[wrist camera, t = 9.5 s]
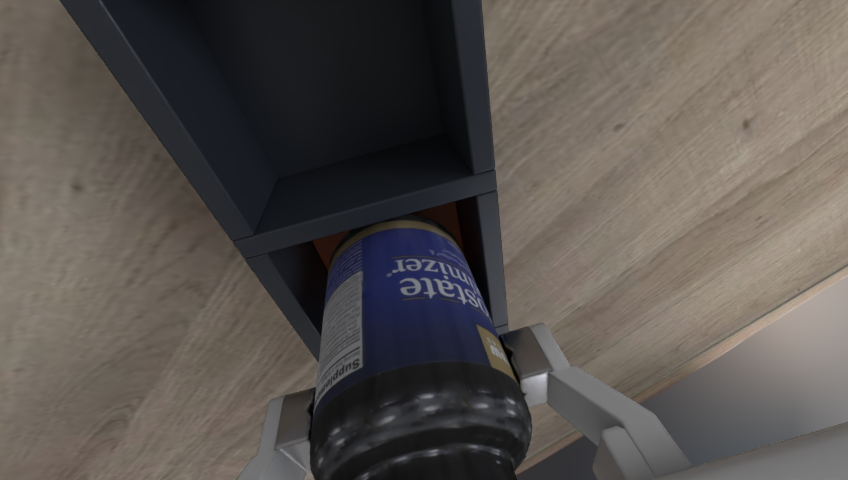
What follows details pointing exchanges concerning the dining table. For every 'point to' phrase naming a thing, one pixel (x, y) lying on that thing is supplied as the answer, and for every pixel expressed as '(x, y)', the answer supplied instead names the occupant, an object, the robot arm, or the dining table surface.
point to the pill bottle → (412, 364)
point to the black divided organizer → (316, 125)
